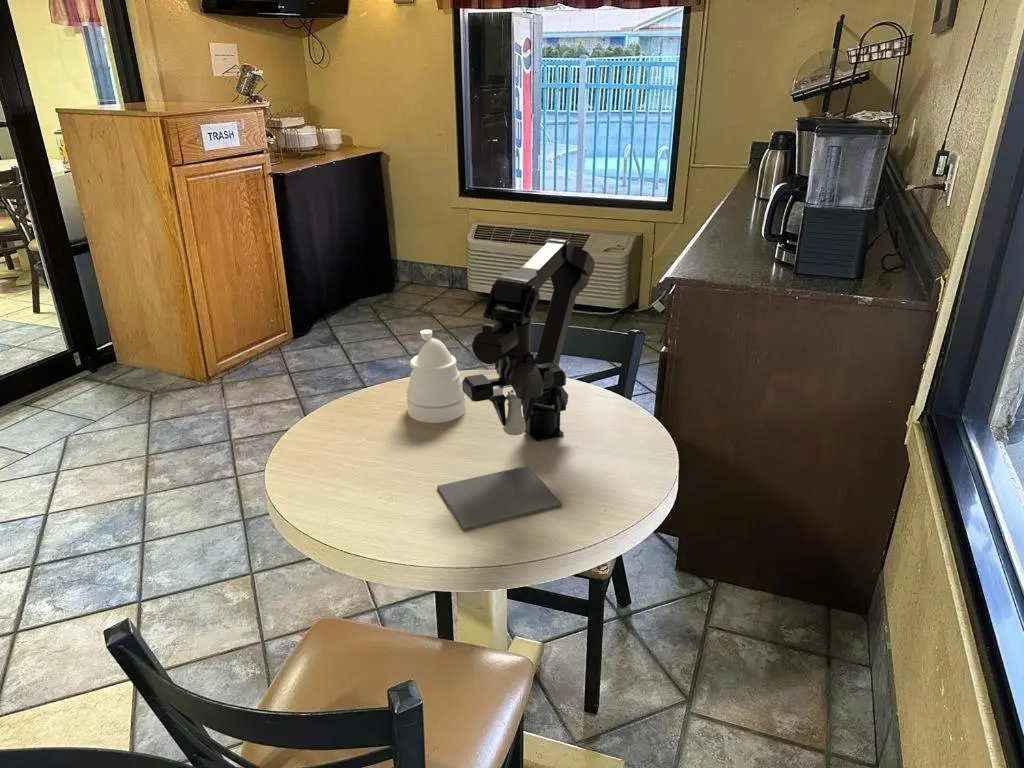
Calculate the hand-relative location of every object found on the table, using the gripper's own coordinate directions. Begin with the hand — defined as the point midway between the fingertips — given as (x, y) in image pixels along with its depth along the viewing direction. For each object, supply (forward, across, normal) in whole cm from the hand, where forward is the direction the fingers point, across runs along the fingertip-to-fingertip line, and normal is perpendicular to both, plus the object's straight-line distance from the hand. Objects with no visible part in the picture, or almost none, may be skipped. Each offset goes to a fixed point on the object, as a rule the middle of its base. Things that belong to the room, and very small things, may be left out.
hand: (514, 422), depth 135 cm
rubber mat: (+8, -8, -11) cm, 16 cm away
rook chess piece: (+2, 0, 0) cm, 2 cm away
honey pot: (+8, -7, +27) cm, 29 cm away
